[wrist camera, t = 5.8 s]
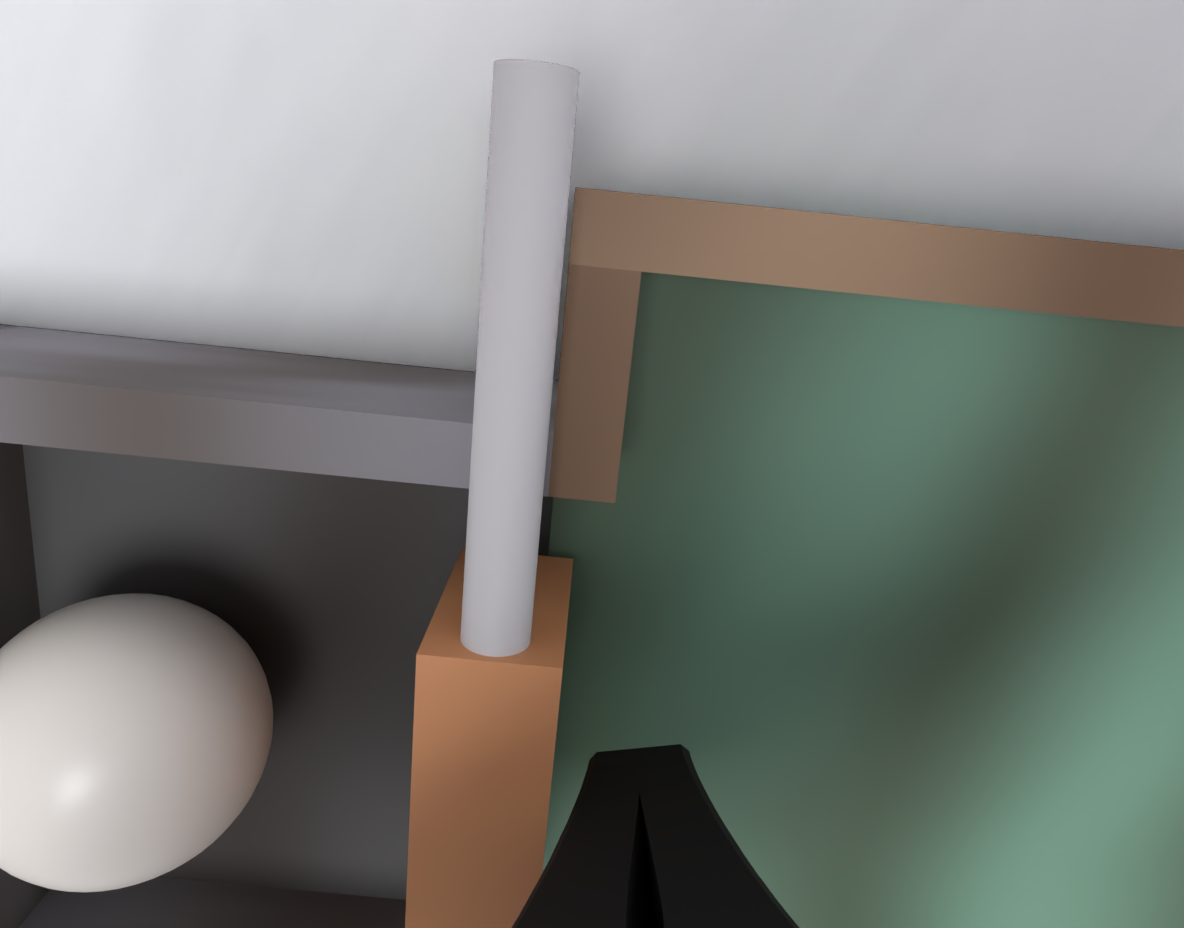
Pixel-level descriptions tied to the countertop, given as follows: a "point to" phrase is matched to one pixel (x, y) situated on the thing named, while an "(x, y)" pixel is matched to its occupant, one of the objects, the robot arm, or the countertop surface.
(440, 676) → the kicker
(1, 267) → the countertop surface
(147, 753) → the ball
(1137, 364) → the pitch
